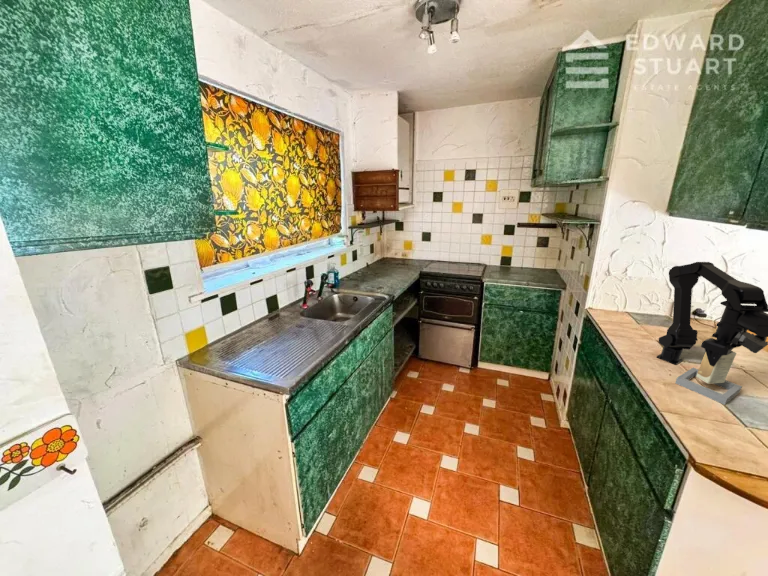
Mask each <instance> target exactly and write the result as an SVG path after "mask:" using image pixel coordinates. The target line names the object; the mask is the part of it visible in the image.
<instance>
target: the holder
mask: <svg viewBox="0 0 768 576" xmlns="http://www.w3.org/2000/svg"><path fill="white" fill-rule="evenodd" d="M698 370H699V368H696V367H691V368H690V369H688V370H687V371H685V372H684V373H682V374H681V375H679V376H678V377H677V376H676V377H677V378H676V379H675V384H676V385H679V386H681V387H683V388H685V389H688V390H690V391H692V392H695V393H697V394H698V395H702V396H703V397H706V398H708V399H711V400H712V401H716V402H718V403H720V404H722V405H726V404H727V403H729V402H730V401H731V400H732V399H733V398H734V397H736V396H737V395H738V394H740V392H741V391H742V388H743V386H742V385H740V384H737V383H734V382H732V381H729V380H728V379H727V380H726V379H725V382H724V383H712V384H713V385H715V386H718V387H720V388H723V389H726V390H727V391H725V392H724V393H720V392H718V391H715V390H713V389H711V388H708V387H705V386H703V385H702V384H699V383H696V382H694V381H691V379H692V378H694V377H695V378H697V377H696V375H697V372H698Z"/></svg>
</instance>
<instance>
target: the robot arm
mask: <svg viewBox="0 0 768 576" xmlns="http://www.w3.org/2000/svg"><path fill="white" fill-rule="evenodd" d="M700 277H702V278H704V279H705V280H706V281H708V282H709V283H711V284H712V285H713V286H715V287H717V288H718V289H719V290H720V291H721V295H722V297H723V298H724V299H725V301H720V305H721V306H722V305H723V306H724V307H725V308H724V310H723V312H722V315H721V317H720V320H719V322H717V323H716V325H715V326H716V327H717V328H716V330H715V332H713V333H712V336H711V337H710V338H707V339H705V340H703V341H702V342H701V344H700V347H701V348H702V349H704V351H705V352H706V354H707V357H708V361H709V364H710V365H711V366H715V364H716V363H717V362H718V361H719V359H720V358H721V357H722V356H723V355H728V354H730V353H731V351H733V350H734V349H737V348H738V347H739V348H740V347H744V348H745V349H747V350H749V351H750V352H751V353H753V354H757V353H759V352H760V351H762V350H763V349H764V348H765V347H767V346H768V341H767V338H768V303H767V300H766V296H765V292H764V289H762V288H761V287H759V286H757V285H754V284H752V283H748V282H744V281H740V280H738V279H736V278H735V277H733V276H732V275H730V274H728V273H726V272H725V271H723V270H722V269H720V268H719V267H717V266H715V264H714V263H712V262H710V261H696V262H693V263H689V264H683V265H674V266H672V267H671V269H669V271H668V279H669V283H670V284H671V285H672V287H673V288H674V289H673V290H674V294H673V314H672V315H673V316H672V324H671V325H670V326H669V327H668V328H667V330H666V334H665V335H663V336H660V337H658V344H660V345H661V346H662V350H661V353H660V354H657V355H656V358H658V359H660V360H663V361H665V362H667V363H669V364H672V365H675V366H676V365H678V364H679V363H682V362H683V361H684V359H682V358H681V356H682V353H683V350H691V348H693V347H694V346H695V345H696V343H697V342H698V330H697V329H694V328H693V327H692V325H691V319H692V318H691V315H692V296H693V295H692V294H693V288H695V286H696V285H697V283H698V282H699V278H700ZM748 331H749V332H748ZM750 332H751V333H750Z"/></svg>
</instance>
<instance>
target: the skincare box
mask: <svg viewBox="0 0 768 576" xmlns="http://www.w3.org/2000/svg"><path fill="white" fill-rule="evenodd" d="M736 355H737V352H735V351H734V350H732V351H731V353H730V354H728V355H723V356H722V357H721V358H720V359H719V361H718V362H717V363H716V364H715V366H711V365H710V364H709V361H708V357H707V354H706V351H705V353H704V355H703V357H702V360H701V362H700V365H699V367H698V372H697V375H696V377H695V378H697V379H700V381H703V382H704V383H706V384H708V385H709V384H713V383H724V382H725V380H726V378H727V376H728V374H729V372H730V370H731V367H732V365H733V362H734V360H735V358H736Z"/></svg>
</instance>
